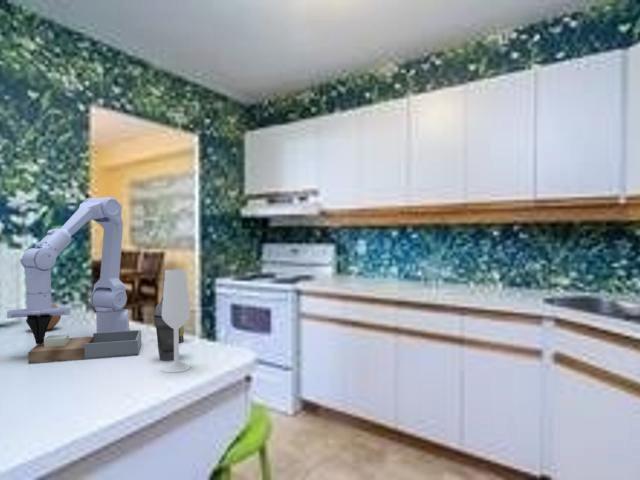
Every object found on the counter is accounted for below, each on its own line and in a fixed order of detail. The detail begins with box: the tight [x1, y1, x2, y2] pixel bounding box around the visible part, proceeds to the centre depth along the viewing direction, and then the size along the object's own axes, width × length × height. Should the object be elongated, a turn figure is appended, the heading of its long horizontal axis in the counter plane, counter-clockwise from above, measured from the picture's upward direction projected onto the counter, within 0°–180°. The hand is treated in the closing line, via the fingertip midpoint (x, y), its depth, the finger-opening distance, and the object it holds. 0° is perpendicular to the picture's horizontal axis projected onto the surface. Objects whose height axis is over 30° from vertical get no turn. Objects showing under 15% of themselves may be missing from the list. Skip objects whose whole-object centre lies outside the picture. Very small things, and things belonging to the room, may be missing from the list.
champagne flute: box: [161, 269, 191, 373], centre depth 115 cm, size 7×7×24 cm
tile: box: [44, 333, 70, 347], centre depth 128 cm, size 5×5×2 cm
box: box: [84, 329, 142, 360], centre depth 132 cm, size 13×14×4 cm
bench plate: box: [27, 336, 93, 365], centre depth 128 cm, size 13×14×3 cm
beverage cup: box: [153, 282, 180, 362], centre depth 124 cm, size 7×7×20 cm
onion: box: [31, 301, 62, 331], centre depth 160 cm, size 10×10×10 cm
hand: (39, 343), depth 127 cm, fingers closed
